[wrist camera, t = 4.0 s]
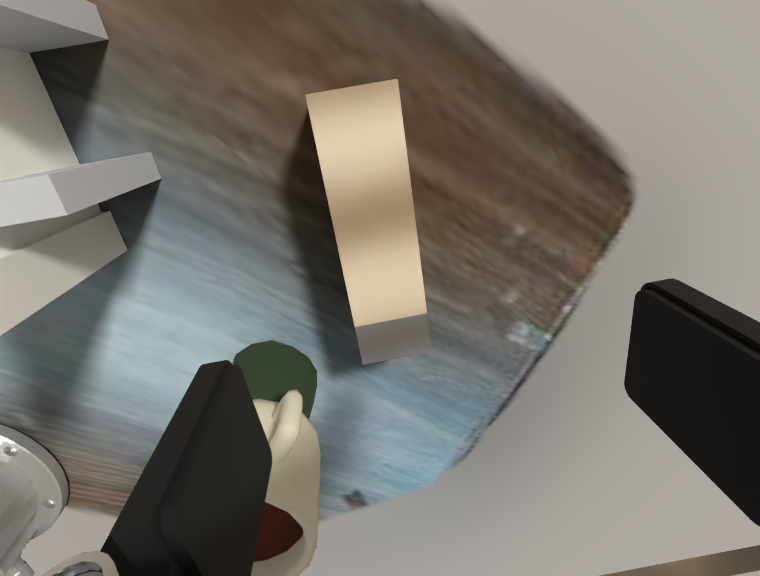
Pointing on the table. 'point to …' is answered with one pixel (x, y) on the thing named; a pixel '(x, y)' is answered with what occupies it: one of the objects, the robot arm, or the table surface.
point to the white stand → (50, 167)
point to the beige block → (373, 215)
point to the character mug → (285, 455)
